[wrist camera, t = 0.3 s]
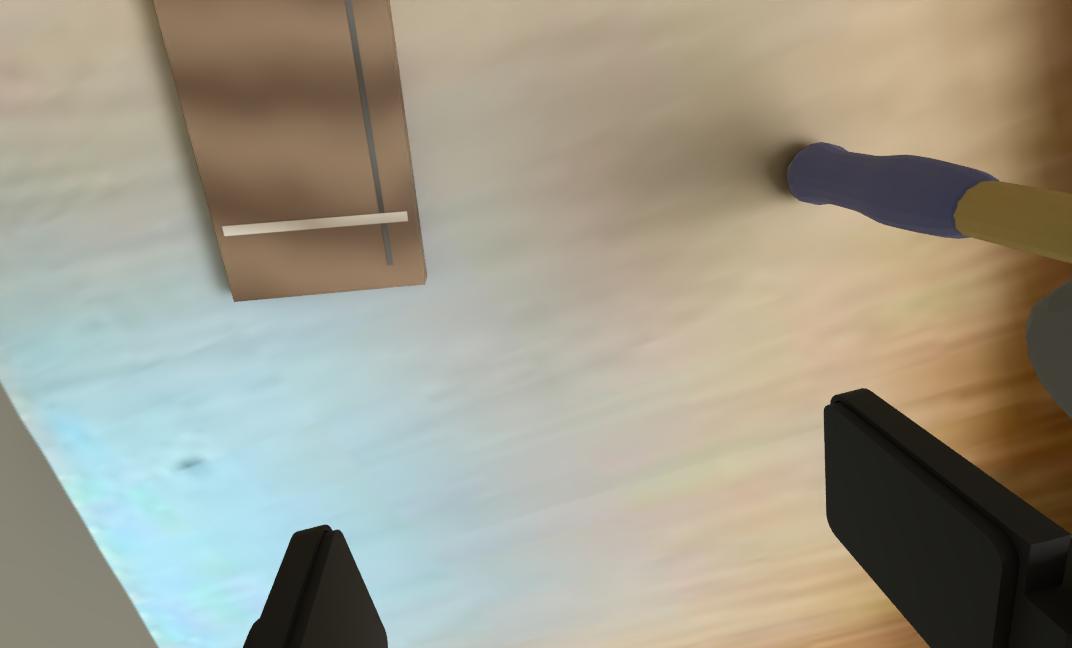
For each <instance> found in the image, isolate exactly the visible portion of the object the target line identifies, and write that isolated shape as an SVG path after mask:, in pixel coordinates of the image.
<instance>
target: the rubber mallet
mask: <svg viewBox="0 0 1072 648" xmlns="http://www.w3.org/2000/svg"><path fill="white" fill-rule="evenodd" d="M786 178H787V183H788V186H789V188H790V190H791V193H792V195H793V196H795V197H796V198H797V199H798V200H800V201H803V202H807V203H812V204H816V205H822V204H833V205H837V206H840V207H844V208H848V209H851V210H855V211H857V212H860V213H862V214H863V215H865V216H867V217H869V218H871V219H873V220H875V221H877V222H879V223H882V224H884V225H888V226H892V227H896V228H900V229H905V230H909V231H914V232H918V233H923V234H929V235H934V236H940V237H947V238H958V239H960V238H969V237H972V238H976V239H980V240H984V241H987V242H991V243H995V244H999V245H1003V246H1007V247H1011V248H1014V249H1018V250H1022V251H1026V252H1030V253H1034V254H1038V255H1041V256H1045V257H1049V258H1053V259H1057V260H1061V261H1065V262H1068V263H1072V194H1071V193H1065V192H1059V191H1053V190H1047V189H1041V188H1035V187H1029V186H1023V185H1018V184H1012V183H1006V182H1000V181H999V180H998V179H996V178H994V177H993V176H991V175H990V174H988V173H985V172H982V171H979V170H976V169H973V168H969V167H965V166H961V165H957V164H953V163H949V162H945V161H941V160H936V159H931V158H926V157H920V156H914V155H894V156H873V155H866V154H860V153H853V152H848V151H847V150H845V149H844V148H842V147H840V146H836V145H832V144H828V143H823V142H820V143H815V144H811V145H809V146H807V147H806V148H804V149H803V150H801V151H800V152H798V153H797V155H796V156H795V157H794V158H793V160H792V161H791V163H790V164H789V166H788V170H787V175H786ZM1025 328H1026V340H1027V349H1028V356H1029V358H1030V361H1031V363H1032V365H1033V367H1034V369H1035V372H1036V374H1037V376H1038V378H1039V380H1040V381H1041V383H1042V384H1043V385H1044V387H1045V388H1046V390H1047V391H1048V392H1049V394H1050V395H1051V396H1052V398H1053V399H1054V401H1055V402H1056V403H1057V404H1058V405H1059V406H1060V407H1061V408H1062V409H1063V411H1064V412H1065V413H1066V414H1067V415H1068V416H1069V417H1070V418H1071V419H1072V278H1071V279H1070V280H1068V281H1067V282H1065V283H1064V284H1063V285H1061V286H1060V287H1058V288H1057V289H1055V290H1054V291H1052V292H1051V293H1049V294H1048V295H1047V296H1045V297H1044V298H1042V299H1041V300H1039V301H1038V302H1037V303H1036V305H1035V306H1034V307H1033V309H1032V311H1031V313H1030V316H1029V318H1028V321H1027V323H1026V326H1025Z"/></svg>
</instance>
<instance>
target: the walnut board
mask: <svg viewBox="0 0 1072 648" xmlns="http://www.w3.org/2000/svg"><path fill="white" fill-rule="evenodd" d="M153 3H154V7H155V10H156V14H157V18H158V21H159V25H160V29H161V33H162V36H163V40H164V44H165V47H166V51H167V55H168V59H169V62H170V66H171V70H172V73H173V77H174V81H175V84H176V88H177V92H178V96H179V99H180V103H181V107H182V110H183V114H184V118H185V122H186V125H187V129H188V133H189V136H190V140H191V144H192V148H193V151H194V155H195V159H196V162H197V166H198V170H199V174H200V177H201V181H202V185H203V188H204V192H205V196H206V200H207V203H208V207H209V211H210V214H211V218H212V222H213V225H214V229H215V233H216V237H217V240H218V244H219V248H220V251H221V255H222V259H223V263H224V266H225V270H226V274H227V277H228V281H229V285H230V289H231V292H232V296H233V300H234V302H238V301H249V300H260V299H270V298H281V297H292V296H303V295H314V294H325V293H335V292H346V291H357V290H368V289H379V288H390V287H400V286H411V285H422V284H425V282H426V278H427V272H426V265H425V258H424V250H423V243H422V235H421V228H420V221H419V213H418V206H417V199H416V191H415V184H414V177H413V169H412V162H411V155H410V147H409V140H408V133H407V125H406V118H405V111H404V103H403V96H402V88H401V81H400V74H399V66H398V59H397V52H396V44H395V37H394V30H393V22H392V15H391V8H390V0H153Z"/></svg>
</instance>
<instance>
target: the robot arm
mask: <svg viewBox="0 0 1072 648" xmlns="http://www.w3.org/2000/svg"><path fill="white" fill-rule="evenodd" d="M824 441H825V478H826V514H827V520H828V523H829V526H830V528H831V530H832V532H833V533H834V535H835V536H836V537H837V538H838V539H839V541H840V542H841V543H842V544H843V545H844V547H845V548H846V549H847V550H848V551H849V552H850V554H851V555H852V556H853V557H854V558H855V559H856V561H857V562H858V563H859V564H860V565H861V566H862V568H863V569H864V570H865V571H866V572H867V574H868V575H869V576H870V577H871V578H872V579H873V581H874V582H875V583H876V584H877V585H878V586H879V588H880V589H881V590H882V591H883V592H884V593H885V595H886V596H887V597H888V598H889V599H890V601H891V602H892V603H893V604H894V605H895V606H896V608H897V609H898V610H899V611H900V612H901V613H902V615H903V616H904V617H905V618H906V619H907V620H908V622H909V623H910V624H911V625H912V626H913V627H914V629H915V630H916V631H917V632H918V633H919V635H920V636H921V637H922V638H923V639H924V640H925V642H926V643H927V644H928V645H929V646H930V647H931V648H1072V538H1071V534H1070V533H1068V532H1067V531H1066V530H1064V529H1063V528H1061V527H1060V526H1059V525H1057V524H1056V523H1054V522H1053V521H1052V520H1050V519H1049V518H1047V517H1046V516H1045V515H1043V514H1042V513H1040V512H1039V511H1038V510H1036V509H1035V508H1033V507H1032V506H1031V505H1029V504H1028V503H1026V502H1025V501H1024V500H1022V499H1021V498H1019V497H1018V496H1017V495H1015V494H1014V493H1012V492H1011V491H1010V490H1008V489H1007V488H1005V487H1004V486H1003V485H1001V484H1000V483H999V482H997V481H996V480H994V479H993V478H992V477H990V476H989V475H987V474H986V473H985V472H983V471H982V470H980V469H979V468H978V467H976V466H975V465H973V464H972V463H971V462H969V461H968V460H966V459H965V458H964V457H962V456H961V455H959V454H958V453H957V452H955V451H954V450H952V449H951V448H950V447H948V446H947V445H945V444H944V443H943V442H941V441H940V440H938V439H937V438H936V437H934V436H933V435H931V434H930V433H929V432H927V431H926V430H925V429H923V428H922V427H920V426H919V425H918V424H916V423H915V422H913V421H912V420H911V419H909V418H908V417H906V416H905V415H904V414H902V413H901V412H899V411H898V410H897V409H895V408H894V407H892V406H891V405H890V404H888V403H887V402H885V401H884V400H883V399H881V398H880V397H878V396H877V395H876V394H874V393H873V392H871V391H870V390H868V389H864V388H862V389H858V390H854V391H850V392H846V393H842V394H838V395H835V396H833V397H832V399H831V403H830V405H827V406H825V408H824ZM243 648H388V642H387V635H386V632H385V629H384V626H383V624H382V622H381V620H380V617H379V615H378V613H377V610H376V608H375V606H374V604H373V601H372V599H371V597H370V595H369V592H368V590H367V588H366V585H365V583H364V581H363V579H362V576H361V574H360V572H359V570H358V567H357V565H356V563H355V560H354V558H353V556H352V554H351V551H350V549H349V547H348V545H347V542H346V540H345V538H344V535H343V534H342V532H341V531H340V530H334V531H332V529H331V527H330V526H328V525H321V526H317V527H313V528H309V529H305V530H302V531H298V532H296V533H294V534H293V536H292V538H291V540H290V543H289V545H288V548H287V550H286V553H285V556H284V558H283V561H282V563H281V566H280V568H279V571H278V573H277V576H276V578H275V581H274V584H273V586H272V589H271V591H270V594H269V596H268V599H267V601H266V604H265V606H264V609H263V612H262V614H261V617H260V618H259V619H258V620H257V621H256V622H255V623H254V624H253V626H252V628H251V630H250V631H249V634H248V636H247V639H246V641H245V644H244V646H243Z"/></svg>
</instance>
